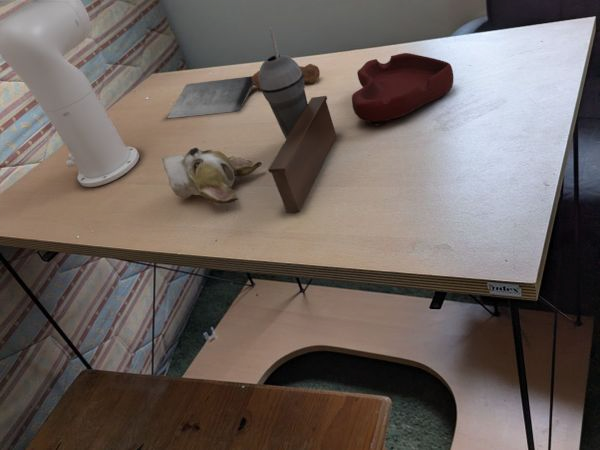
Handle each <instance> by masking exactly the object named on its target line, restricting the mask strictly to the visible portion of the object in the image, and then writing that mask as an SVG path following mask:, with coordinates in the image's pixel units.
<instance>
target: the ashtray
mask: <svg viewBox="0 0 600 450" xmlns="http://www.w3.org/2000/svg"><path fill="white" fill-rule="evenodd" d="M356 74H357V79H358V81H359V84H360V86H361V88H360V89H358V90H356V91H355V92H354V93H353V94H352V95H351V106H352V109H353V112H354V114H355V116H356V117H357V118H358V119H360V120H361V121H363V122H364V121H365V122H369V124H370V125H371V126H379V125H382V124H384V123H386V122H387V121H390V120H394V119H399V118H400V117H403V116H406V115H407V114H409V113H411V112H412V111H414V110H416V109H417V108H420V107H422V106H425V105H426V104H428V103H430V102H433V101H435V100H437V99H439V98H440V99H441V98H442V97H444V96H446V95H447V93H449V92H450V91H451V89H452V88H453V85H454V78H455V77H454V76H455V75H454V71H453V67H452V65H451V63H449V62H448V61H444V60H442V59H438V58H433V57H429V56H425V55H419V54H415V53H409V52H402V53H398V54H394V55H391V56H390V58H389V60H388V61H387V62H385V63H382V62H380V61H379V60H378V59H377V58H375V59H370V60H368V61H366V62H365V63H364V65H363V66H362V67H360V68H359V69H358V70H357V72H356Z"/></svg>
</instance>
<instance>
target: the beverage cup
mask: <svg viewBox="0 0 600 450" xmlns="http://www.w3.org/2000/svg"><path fill="white" fill-rule="evenodd" d="M269 33H270V38H271V42H272V47H273V52H274V55H272V56H269V57H268V58H267V59H266V60H264V61H263V62H262V64H261V66H260V69H259V70H258V71H259V84H260V88H259V90H260V92H262V95H263V96H264V98H265V100H266V101H267V102H268V105H269V107H270V109H271V111H272V114H273V115H274V117H275V119H276V121H277V124H278V126H279V128H280V130H281V132H282V134H283V137H284V139H285V140H286V139H287V137H288V136H289V134H290V133H291V131H292V129H293V128H294V126H295V124H296V123H297V121H298V119H299V118H300V116H301V114H302V113H303V111H304V109H305V108H306V106H307V105H308V103H309V102H308V99H307V95H306V91H305V82H304V79H303V76H304V75H303V73H302V71H301V70H300V67H299V66H300V65H299V64H298V63H297V62H296V61H295V60H294V59H293V58H291V57H290V56H288V55H285V54H279V51H278V46H277V42H276V41H277V40H276V37H275V33H274V28H273V27H269Z"/></svg>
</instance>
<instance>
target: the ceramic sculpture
mask: <svg viewBox="0 0 600 450" xmlns="http://www.w3.org/2000/svg"><path fill="white" fill-rule="evenodd" d="M161 161H162V165H163V169H164V171H165V174H166V177H167V179H168V182H169V185H170V189H171V190H172V191H173V193H174V194H175V195H176V196H177V197H179V198H180V199H188V198H190V196H192V195H195V196H202V197H203V198H204V199H207V200H208V201H209V202H211V203H213V204H215V205H221V206H222V205H227V204H231V203H234V202H236V201H238V197H237V196H236V195H235V192H234V190H233V189H232V186H233V184H234V183H235V177H236V178H241V177H245V176H246V177H247V176H249V175H250V174H251V173H253V172H255V171H256V170H257V169H259V168H260V167H261V166H262V165H263V161H256V162H253V161H251V160H247V159H245V158H243V157H235V156H227V154H225V153H223V152H221V151H220V150H213V149H207V150H201V149H200V148H197V147H193V148H190V149H189V150H188V151H187V152H186V153H185V154H184V155H181V154H175V155H169V156H162V157H161Z"/></svg>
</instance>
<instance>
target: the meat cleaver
mask: <svg viewBox="0 0 600 450" xmlns="http://www.w3.org/2000/svg"><path fill="white" fill-rule="evenodd" d="M298 66H299V67H300V70H301V71H302V73H303V75H304V76H303V79H304V83H305V82H308V83H314V82H316V81H317V80H318V79H319V78H320V76H321V75H320V73H321V72H320V68H319V66H317V65H315V64H312V63H308V64H307V65H305V66H302V65H301V66H300V65H298ZM259 71H260V70H258V71H257V72H255V73H254V74H253V75H250V76H243V77H242V76H241V77H235V78H225V79H218V80H217V79H216V80H209V81H201V82H193V83H187V84H185V85H184V87H183V89H182V91H181V92H180V94H179V96H178V98H177V100H176V102H175V104H174V105H173V107H172V109H171V111H170V112H169V114H168V116H167V119H174V118H184V117H185V118H186V117H195V116H202V115H213V114H222V113H223V114H224V113H231V112H240V111H241V109H242V107H243V105H244V103H245V102H246V100H247V98H248V96H249V94H250V93H251V91H252V89H253V88H254V87H255V88H258V89H260V84H259Z"/></svg>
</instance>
